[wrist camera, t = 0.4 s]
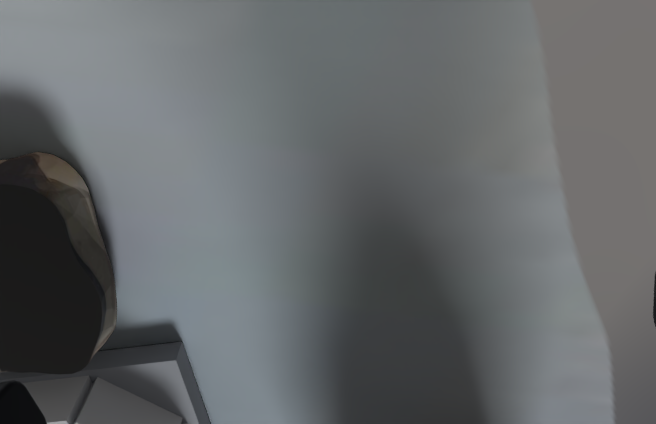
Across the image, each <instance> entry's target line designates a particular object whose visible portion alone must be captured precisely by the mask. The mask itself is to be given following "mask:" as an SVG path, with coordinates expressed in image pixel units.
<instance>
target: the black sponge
mask: <svg viewBox="0 0 656 424" xmlns="http://www.w3.org/2000/svg"><path fill="white" fill-rule="evenodd" d="M116 320H117V299H116V290H115V282H114V274H113V270H112V266H111V262H110V260H109V257H108V255H107V252H106V249H105V246H104V242H103V239H102V236H101V233H100V230H99V227H98V222H97V218H96V213H95V210H94V206H93V203H92V199H91V196H90V193H89V190H88V188H87V186H86V184H85V182H84V180H83V179H82V178H81V176H80V175H79V174H78V173H77V172H76V170H75V169H74V168H72V167H71V166H70V165H69V164H68V163H67V162H65V161H63V160H62V159H60V158H58V157H56V156H54V155H52V154H46V153H41V152H35V153H30V154H27V155H23V156H20V157H16V158H12V159H8V160H0V372H17V373H28V372H36V373H47V374H73V373H76V372H79V371H82V370H83V369H84V368H85V367H86V366H87V365H88V364H89V362H90V361H91V359H92V357H93V356H94V355H95V353H96V352H97V351H98V350H99V349H100V348H101V347H102V346H103V345H104V344H105V342H106V341H107V340H108V338H109V337H110V335H111V334H112V332H113V331H114V329H115V327H116Z"/></svg>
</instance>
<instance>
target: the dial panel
mask: <svg viewBox="0 0 656 424" xmlns="http://www.w3.org/2000/svg"><path fill="white" fill-rule="evenodd" d="M11 380H16V381H20V382H21V383H23V384H24V385H25V386H26V388H27V389H28V391H29V393H30V394H31V396H32V397H33V399H34V401H35V402H36V404H37V405H38V407H39V408H40V410H41V412H42V413H43V415H44V417H45V419H46V422H47V424H210V421H209V418H208V415H207V412H206V409H205V406H204V403H203V401H202V398H201V395H200V392H199V389H198V386H197V383H196V380H195V378H194V375H193V372H192V369H191V366H190V363H189V360H188V357H187V355H186V352H185V349H184V346H183V343H182V342H174V343H165V344H157V345H148V346H139V347H131V348H122V349H114V350H105V351H97V352H96V353H95V355H94V356H93V357H92V359H91V361H90V362H89V364H88V365H87V366H86V367H85V368H84V369H83V370H82V371H79V372H76V373H73V374H47V373H36V372H28V373H17V372H0V382H5V381H11Z"/></svg>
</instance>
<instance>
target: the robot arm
mask: <svg viewBox="0 0 656 424" xmlns="http://www.w3.org/2000/svg"><path fill="white" fill-rule="evenodd" d="M653 318H654V323H655V326H656V274H655V284H654V306H653ZM0 424H47V422H46V419H45V417H44V415H43V413H42V412H41V410H40V408H39V407H38V405H37V404H36V402H35V401H34V399H33V397H32V396H31V394H30V393H29V391H28V389H27V388H26V386H25V385H24V384H23V383H21V382H20V381H16V380H11V381H5V382H0Z"/></svg>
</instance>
